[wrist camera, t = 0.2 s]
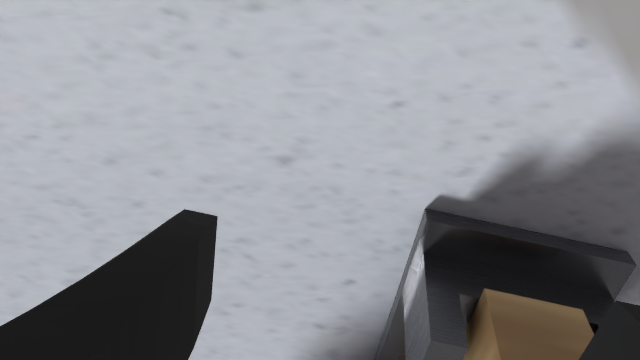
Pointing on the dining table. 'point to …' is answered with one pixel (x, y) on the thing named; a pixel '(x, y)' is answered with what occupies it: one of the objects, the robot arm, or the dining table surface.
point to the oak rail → (525, 329)
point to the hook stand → (490, 281)
